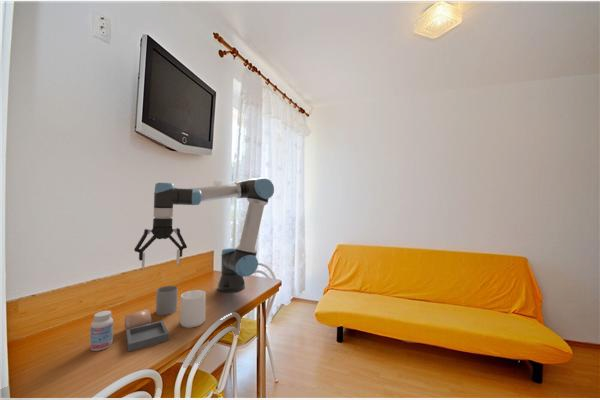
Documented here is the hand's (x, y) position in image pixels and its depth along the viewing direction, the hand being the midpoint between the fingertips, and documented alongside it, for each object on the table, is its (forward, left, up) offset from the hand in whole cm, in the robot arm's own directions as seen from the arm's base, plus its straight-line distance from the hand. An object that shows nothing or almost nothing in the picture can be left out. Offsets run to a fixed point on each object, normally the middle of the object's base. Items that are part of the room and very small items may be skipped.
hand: (161, 266), depth 111 cm
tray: (+7, +19, -21) cm, 29 cm away
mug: (-9, +15, -21) cm, 28 cm away
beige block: (+9, +8, -21) cm, 24 cm away
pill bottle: (+20, +16, -21) cm, 33 cm away
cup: (-3, -2, -21) cm, 22 cm away
